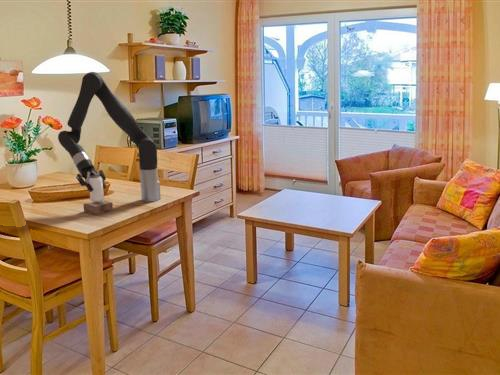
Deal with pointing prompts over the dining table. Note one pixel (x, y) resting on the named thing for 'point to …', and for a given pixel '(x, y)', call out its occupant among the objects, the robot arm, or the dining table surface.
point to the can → (96, 188)
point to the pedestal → (98, 207)
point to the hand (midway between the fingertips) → (98, 189)
